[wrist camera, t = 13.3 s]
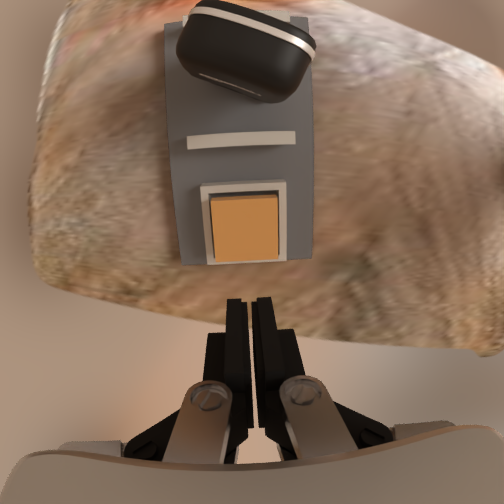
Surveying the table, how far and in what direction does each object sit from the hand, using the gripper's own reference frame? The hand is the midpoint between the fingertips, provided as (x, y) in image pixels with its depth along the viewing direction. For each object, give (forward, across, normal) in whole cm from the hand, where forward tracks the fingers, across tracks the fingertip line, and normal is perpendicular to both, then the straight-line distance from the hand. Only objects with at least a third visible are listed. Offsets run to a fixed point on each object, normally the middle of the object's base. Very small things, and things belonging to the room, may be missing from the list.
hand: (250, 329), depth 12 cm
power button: (+14, 0, 0) cm, 14 cm away
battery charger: (+16, 0, -12) cm, 20 cm away
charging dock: (+17, 0, -7) cm, 19 cm away
